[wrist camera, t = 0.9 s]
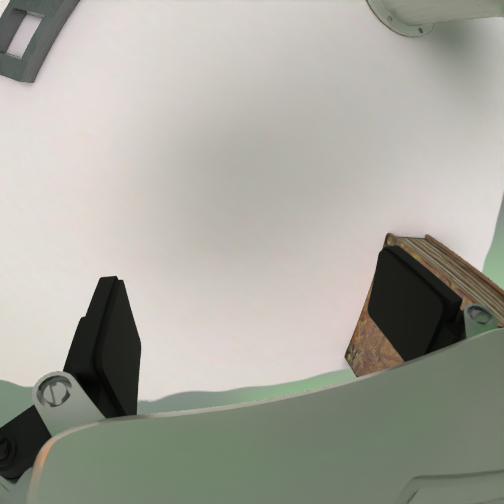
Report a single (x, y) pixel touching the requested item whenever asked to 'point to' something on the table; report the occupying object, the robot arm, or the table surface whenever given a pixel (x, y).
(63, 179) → the table surface
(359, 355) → the book
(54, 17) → the peg holder block
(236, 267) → the table surface
